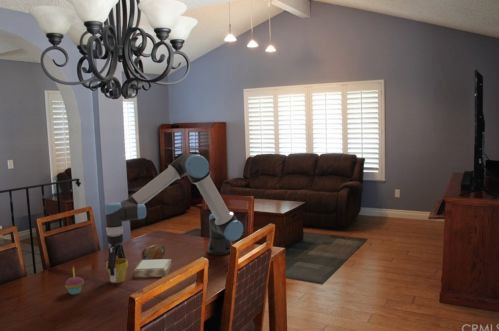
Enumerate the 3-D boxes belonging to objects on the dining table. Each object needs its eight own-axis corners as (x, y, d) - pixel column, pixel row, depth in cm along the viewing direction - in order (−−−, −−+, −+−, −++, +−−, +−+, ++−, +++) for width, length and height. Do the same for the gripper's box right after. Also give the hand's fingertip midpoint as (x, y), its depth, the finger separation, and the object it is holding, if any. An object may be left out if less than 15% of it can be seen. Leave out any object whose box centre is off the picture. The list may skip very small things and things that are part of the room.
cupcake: (65, 290, 205) (63, 266, 203) (84, 287, 208) (82, 263, 207) (65, 297, 197) (63, 271, 195) (85, 293, 200) (83, 268, 199)
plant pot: (102, 283, 212) (101, 264, 211) (116, 276, 222) (115, 257, 221) (119, 285, 208) (118, 266, 207) (133, 278, 218) (131, 259, 217)
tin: (144, 264, 238) (143, 249, 237) (141, 263, 240) (140, 248, 239) (165, 257, 250) (164, 242, 249) (161, 256, 252) (161, 242, 251)
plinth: (171, 265, 235) (171, 258, 234) (165, 276, 219) (165, 268, 219) (142, 266, 235) (141, 259, 235) (134, 277, 219) (133, 269, 219)
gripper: (114, 228, 225) (117, 268, 227) (98, 241, 200) (101, 286, 203) (129, 227, 225) (131, 267, 227) (114, 241, 200) (117, 285, 203)
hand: (117, 276), depth 215 cm, fingers open, 12 cm apart
